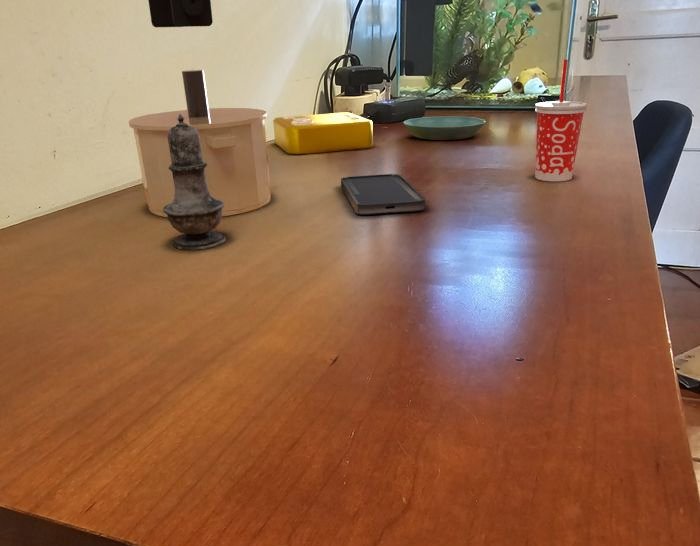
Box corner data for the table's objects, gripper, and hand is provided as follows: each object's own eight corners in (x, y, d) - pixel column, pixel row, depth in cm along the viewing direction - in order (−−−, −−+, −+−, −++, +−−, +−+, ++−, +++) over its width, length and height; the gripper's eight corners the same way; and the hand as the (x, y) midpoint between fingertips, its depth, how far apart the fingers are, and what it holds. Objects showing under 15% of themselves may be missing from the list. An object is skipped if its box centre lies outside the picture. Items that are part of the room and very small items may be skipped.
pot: (167, 231, 67) (151, 137, 63) (136, 194, 83) (121, 118, 79) (296, 211, 73) (289, 123, 68) (243, 180, 89) (235, 107, 85)
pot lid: (143, 141, 65) (132, 78, 62) (121, 125, 77) (111, 72, 75) (287, 126, 71) (282, 68, 68) (244, 113, 83) (239, 64, 81)
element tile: (376, 148, 108) (375, 118, 106) (289, 156, 105) (286, 125, 102) (351, 136, 121) (350, 109, 119) (273, 142, 117) (270, 115, 115)
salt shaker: (157, 243, 63) (133, 116, 58) (205, 229, 67) (188, 108, 62) (192, 254, 60) (170, 119, 54) (241, 239, 64) (225, 111, 58)
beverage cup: (524, 181, 82) (534, 61, 75) (533, 171, 87) (544, 58, 80) (574, 183, 79) (589, 60, 73) (581, 173, 84) (595, 57, 78)
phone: (398, 173, 83) (427, 200, 70) (398, 182, 84) (427, 210, 70) (338, 177, 82) (356, 205, 69) (339, 186, 83) (356, 215, 69)
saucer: (478, 143, 108) (479, 127, 107) (394, 142, 113) (394, 126, 112) (489, 130, 121) (490, 115, 120) (413, 129, 125) (413, 115, 124)
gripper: (88, -194, 55) (123, 28, 63) (115, -271, 41) (156, 27, 49) (175, -185, 58) (199, 26, 66) (228, -254, 44) (250, 25, 52)
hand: (180, 26), depth 57 cm, fingers open, 9 cm apart
